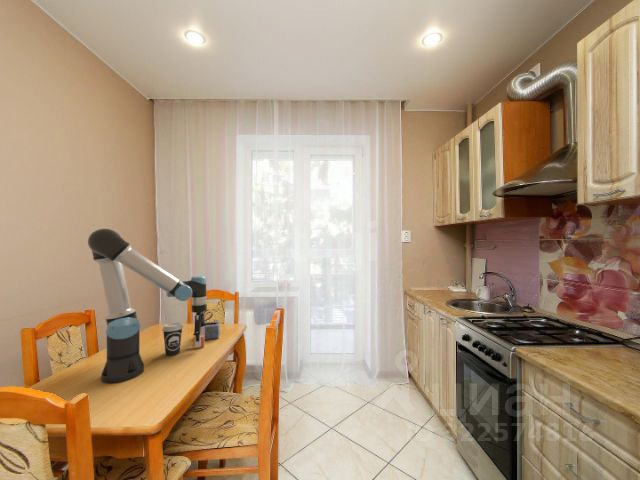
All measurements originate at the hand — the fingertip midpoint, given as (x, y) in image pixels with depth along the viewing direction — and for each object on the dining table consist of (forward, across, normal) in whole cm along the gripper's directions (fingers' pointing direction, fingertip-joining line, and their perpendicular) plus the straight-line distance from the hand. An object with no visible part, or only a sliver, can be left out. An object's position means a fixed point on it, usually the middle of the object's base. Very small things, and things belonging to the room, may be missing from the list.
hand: (200, 342), depth 147 cm
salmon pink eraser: (+3, 0, 0) cm, 3 cm away
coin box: (+3, +16, -4) cm, 16 cm away
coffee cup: (+2, -5, +12) cm, 14 cm away
